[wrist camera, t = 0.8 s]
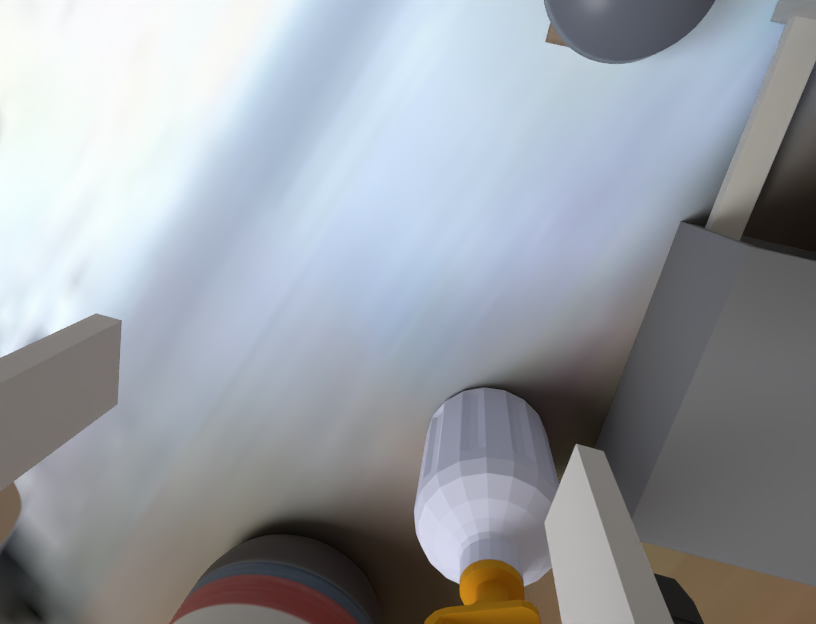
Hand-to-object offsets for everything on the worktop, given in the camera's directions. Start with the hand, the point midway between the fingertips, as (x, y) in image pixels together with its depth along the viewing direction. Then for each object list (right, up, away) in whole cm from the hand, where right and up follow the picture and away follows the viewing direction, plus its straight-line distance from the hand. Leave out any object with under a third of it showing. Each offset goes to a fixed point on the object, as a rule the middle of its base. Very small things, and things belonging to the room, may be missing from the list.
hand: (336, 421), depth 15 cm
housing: (+28, -2, +22) cm, 35 cm away
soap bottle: (+8, -7, +26) cm, 28 cm away
